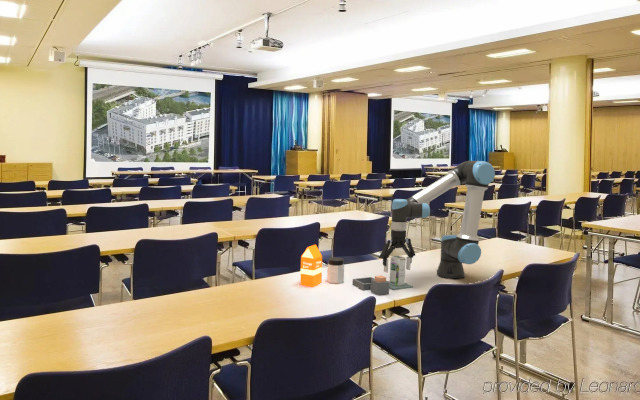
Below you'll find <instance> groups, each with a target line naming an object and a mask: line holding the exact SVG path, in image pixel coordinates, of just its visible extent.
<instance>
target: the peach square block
mask: <svg viewBox="0 0 640 400" xmlns="http://www.w3.org/2000/svg"><path fill="white" fill-rule="evenodd" d="M374 279H375V281H377V282H386V281H387V277H386V276H384V275H375V276H374Z"/></svg>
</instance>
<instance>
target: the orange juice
mask: <svg viewBox="0 0 640 400" xmlns="http://www.w3.org/2000/svg"><path fill="white" fill-rule="evenodd" d="M322 273H323V255H322V253H321V252H320V250H319V248H318V246H317V244H312V245H310V246H307V247H306V249H305V251H304V252H303V253H302V254H301V256H300V286H305V287H309V288H315V287H318V284H319V285H321V284H322V280H323V279H322V278H323V274H322ZM320 283H321V284H320Z"/></svg>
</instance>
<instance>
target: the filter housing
mask: <svg viewBox="0 0 640 400" xmlns="http://www.w3.org/2000/svg"><path fill="white" fill-rule="evenodd" d="M389 281H390V280H389ZM389 281H388V280H386V282H377V281H375V277H372V276H368V277H367V276H366V277H360V278H359V277H358V278H352V285H353V286H354V287H356V288H358V289H360V290H361V291H370V292H371V293H373V294H375V295H376V296H382V295H383V296H384V295H389V294H390V288H389Z"/></svg>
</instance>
